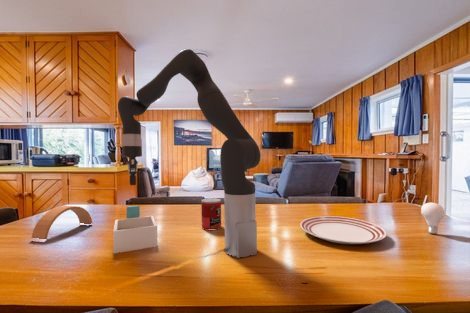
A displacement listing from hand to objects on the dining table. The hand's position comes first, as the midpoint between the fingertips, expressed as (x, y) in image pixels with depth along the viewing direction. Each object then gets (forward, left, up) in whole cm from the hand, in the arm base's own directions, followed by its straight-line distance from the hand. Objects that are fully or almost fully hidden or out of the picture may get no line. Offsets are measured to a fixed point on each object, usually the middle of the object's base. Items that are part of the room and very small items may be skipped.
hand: (132, 184), depth 98 cm
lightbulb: (-61, -95, -17) cm, 114 cm away
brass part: (-21, +2, -16) cm, 27 cm away
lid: (-6, 0, -17) cm, 18 cm away
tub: (-24, 0, -17) cm, 30 cm away
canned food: (-18, -28, -17) cm, 38 cm away
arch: (+1, +24, -17) cm, 29 cm away
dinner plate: (-47, -66, -18) cm, 83 cm away
